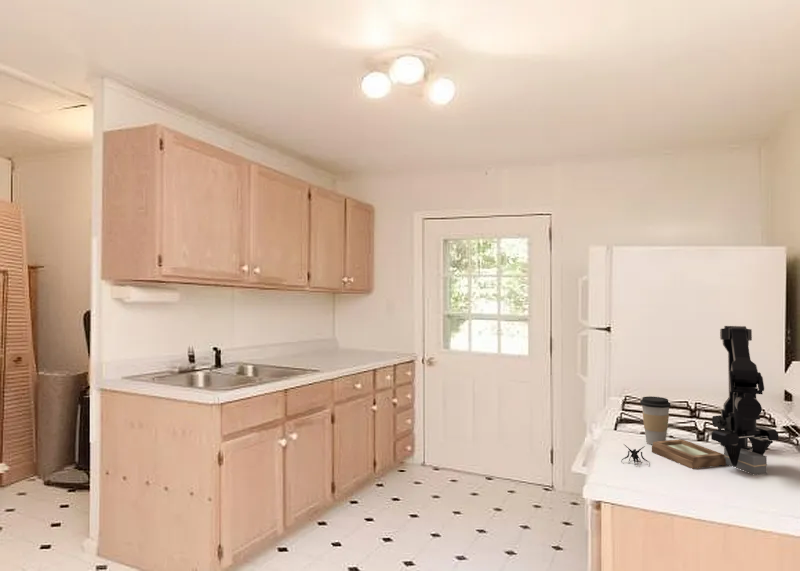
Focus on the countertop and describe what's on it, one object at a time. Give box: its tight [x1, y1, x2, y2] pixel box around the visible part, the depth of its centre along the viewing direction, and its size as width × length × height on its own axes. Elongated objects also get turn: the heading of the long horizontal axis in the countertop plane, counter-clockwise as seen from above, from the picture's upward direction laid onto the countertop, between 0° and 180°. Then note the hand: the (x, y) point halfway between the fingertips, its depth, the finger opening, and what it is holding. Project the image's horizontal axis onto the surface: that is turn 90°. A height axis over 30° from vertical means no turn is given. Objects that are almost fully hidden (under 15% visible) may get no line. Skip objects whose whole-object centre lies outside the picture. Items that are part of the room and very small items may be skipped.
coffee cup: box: [639, 395, 672, 446], centre depth 182 cm, size 9×9×15 cm
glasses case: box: [723, 446, 768, 476], centre depth 156 cm, size 4×10×5 cm, turn 16°
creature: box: [620, 444, 651, 467], centre depth 161 cm, size 8×5×8 cm
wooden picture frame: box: [651, 438, 727, 470], centre depth 166 cm, size 12×16×3 cm
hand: (744, 464), depth 156 cm, fingers open, 7 cm apart
